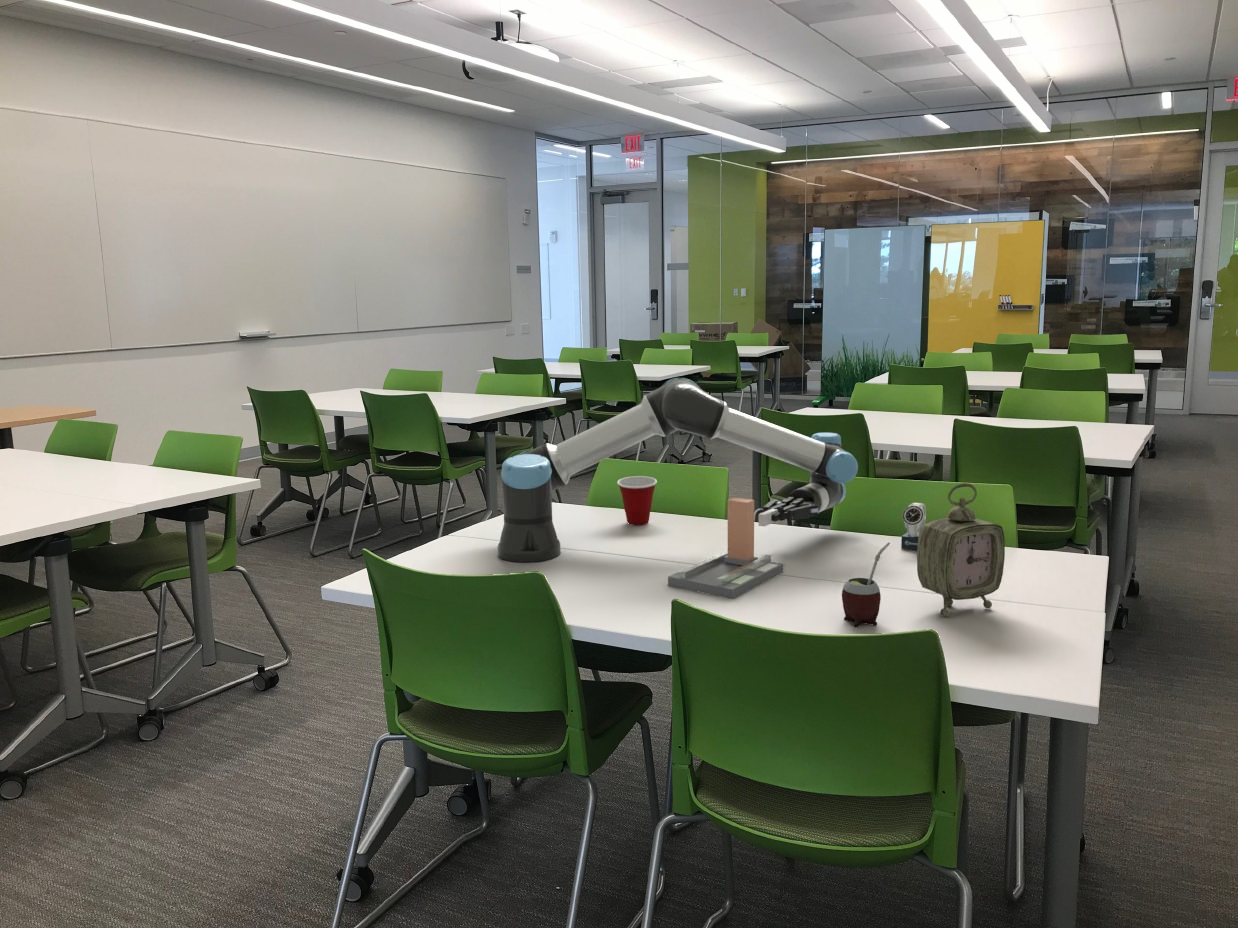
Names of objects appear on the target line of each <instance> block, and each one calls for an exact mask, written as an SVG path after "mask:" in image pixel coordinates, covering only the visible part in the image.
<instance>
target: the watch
mask: <svg viewBox="0 0 1238 928" xmlns="http://www.w3.org/2000/svg"><path fill="white" fill-rule="evenodd" d="M926 510H927V509H926V505H925V504H924V503H921V502H912V503H910V504H908V507H906V508H905V509H904V510H903V513H902V520H903V522H904V527H905V528H906V531H907V532H905V533H904V534H903V535H901V544H900V546H901V547H900V549H901V550H908V551H914V552H915V551H916V552H917V549H918V538H919V533H920V530H921V527H922V526H923V525H925V524H926V523H927V522H926V521H927V515H926V514H927V513H926Z"/></svg>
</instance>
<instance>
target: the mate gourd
mask: <svg viewBox="0 0 1238 928" xmlns="http://www.w3.org/2000/svg"><path fill="white" fill-rule="evenodd" d="M890 544H891V543H890V542H887V543H886V544H884V546H883V547H882V548H881V549H880V550H879V551H878V552H877V554H876V555H875V557H874V562H873V564H872V568H871V572H870V574H869V578H867V577H851V578H849V579H847V581H846V582H845V583H844V584H843V587H842V591H841V601H842V608H843V613H844V616H843V620H844V621H845V620H848V621H847V622H851V621H853V622H852V623H853V625H852V627H853V626H854V627H853V628H856V627H857V628H859V627H860V626H861V625H862V624H861V623H867V624H866V625H869V624H873V625H872V626H875V625H876V626H877V625H878V622H877V618H878V616H879V612H880V606H881V599H882V597H881V596H882V595H881V591H880V590H881V589H880V587H879V585H878V583H877V582H876V581H875V580H874V579H873V577H874V574H875V572H876V568H877V565H878V562H879V561H880V559H881V555H882V553H883V552H884V551H885V550H886V549H887V548H888V547H889V546H890ZM860 624H861V625H860ZM859 625H860V626H859ZM858 626H859V627H858Z"/></svg>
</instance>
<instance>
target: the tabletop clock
mask: <svg viewBox="0 0 1238 928" xmlns="http://www.w3.org/2000/svg"><path fill="white" fill-rule="evenodd" d="M965 487H966V488H967V487H968V488H971V490H973V492H974V493H973V494H974V495H973V496H972V497H971V498H969V499H968V500H966V499H965V497H960V498H959V499H958V500H959V501H953V500H952V499H951V495H952V493H954V491H955V490H957V489H959V488H965ZM977 495H978V491H977V488H976V487H975V485H973V484H971V483H965V482H964V483H963V482H962V483H959V484H956V485H954V486H953V487H952V488H951V489H949V492H948V494H947V500H948V502H949V503H950V504H951V505H953V506H954V507H952V508H951V509H950V510H948V513H947V516H946V517H944V518H939V519H934V520H932V521H930V522H928V523H927V522H926V523H925V525H923V526H922V527H921V530H920V533H919V538H918V549H917V551H916V571H917V573H916V574H917V578H918V581H919V583H920V585H921V587H922V588H924V589H926V590H929V591H930V592H934V593H935V594H939V595H941V596H942V598H943V608H941V609H940V615H941V616H942V617H944V618H947V617H948V616H949V615H950V610H949V609H948V607H951V606H952V605H953V604H954V601H955V600H956V601H961V600H972V599H976V598H981V599H982V601H983V603H982V604H983V607H984V608H985V609H990V608H992V606H993V602H992V601H991V600H989V599H986V596H988V595H990V594H993V593H994V592H996V591H997V590H998V589H999V588H1000V586H1001V583H1002V580H1003V576H1004V575H1003V574H1004V565H1005V559H1006V557H1005V554H1006V553H1005V552H1006V551H1005V550H1006V549H1005V547H1006V546H1005V545H1006V544H1005V543H1006V541H1005V532H1004V530H1003V526H1002V525H999V524H996V523H993V522H990V521H986V520H984V519H983V520H982V519H978V518H976V517H977V516H976V515H975V513H974V511H973V510H972V508H970V507H968V506H966V505H969V504H971V503H972V502H974V501H975V499H976V498H977Z"/></svg>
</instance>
